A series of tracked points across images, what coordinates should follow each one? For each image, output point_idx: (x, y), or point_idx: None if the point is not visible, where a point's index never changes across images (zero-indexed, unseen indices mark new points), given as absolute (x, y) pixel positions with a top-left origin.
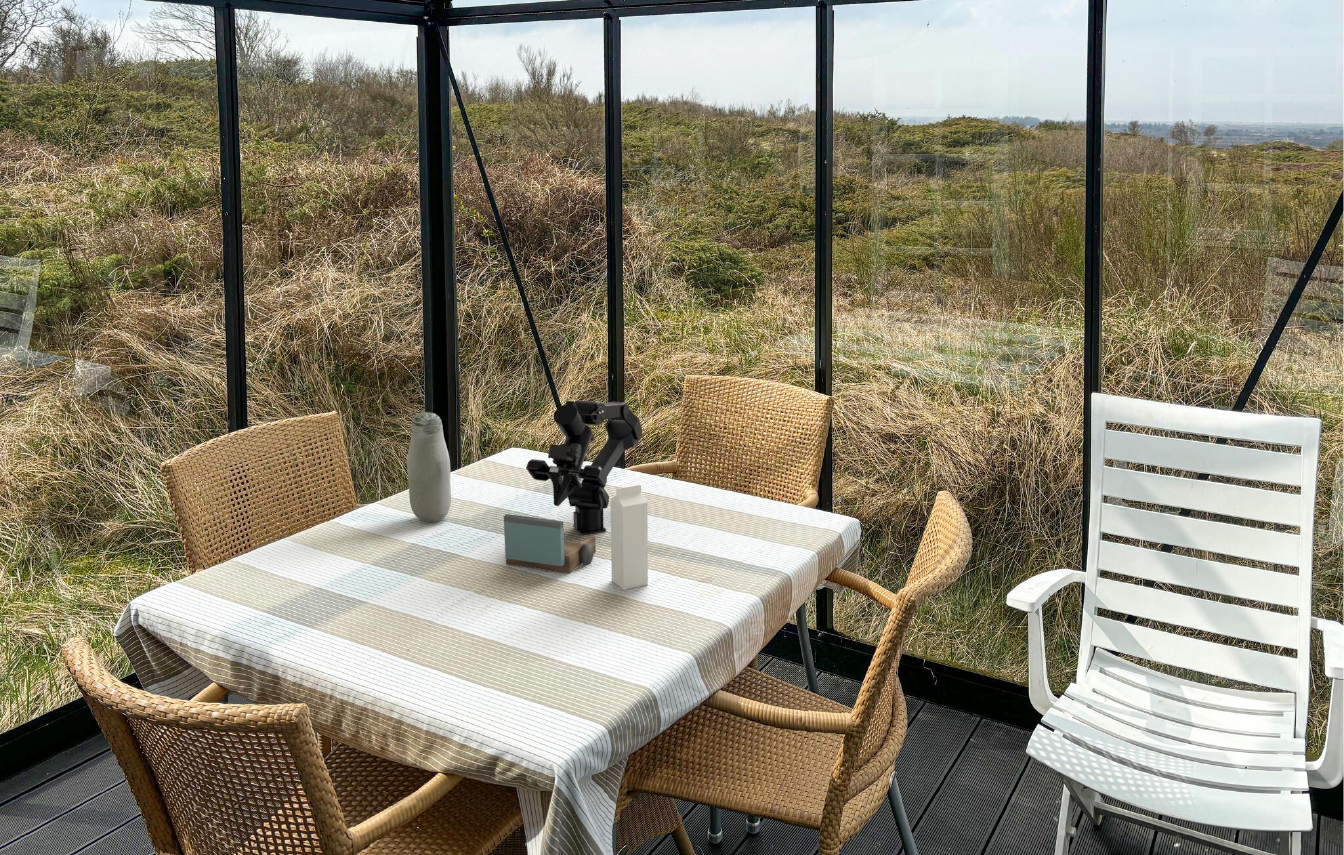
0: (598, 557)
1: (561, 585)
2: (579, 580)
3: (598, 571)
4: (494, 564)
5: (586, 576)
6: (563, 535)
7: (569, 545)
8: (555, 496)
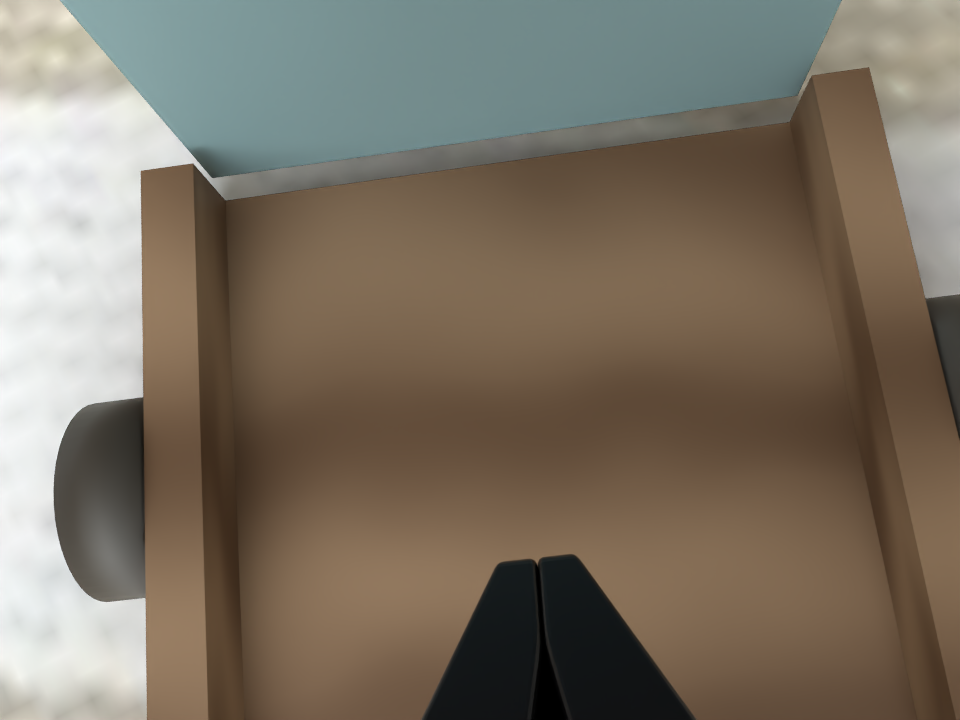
0: (145, 697)
1: None
2: (75, 161)
3: (9, 390)
4: (907, 107)
5: (57, 253)
6: (65, 2)
7: (437, 663)
8: (589, 660)
